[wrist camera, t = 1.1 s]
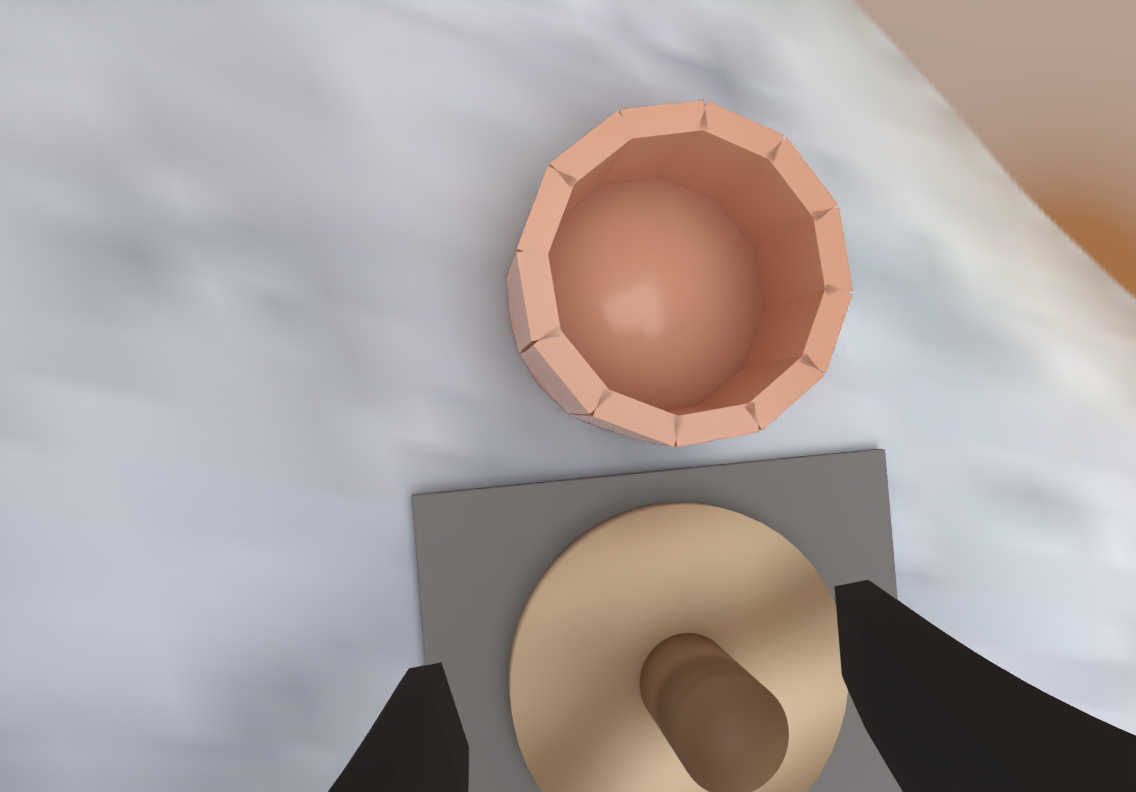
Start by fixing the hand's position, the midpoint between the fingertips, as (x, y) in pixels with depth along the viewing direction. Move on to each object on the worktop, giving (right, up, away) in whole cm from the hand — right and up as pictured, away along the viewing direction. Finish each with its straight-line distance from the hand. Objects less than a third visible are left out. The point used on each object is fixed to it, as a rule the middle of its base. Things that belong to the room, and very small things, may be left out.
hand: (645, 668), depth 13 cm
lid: (+2, -4, +11) cm, 12 cm away
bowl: (+1, +8, +11) cm, 14 cm away
